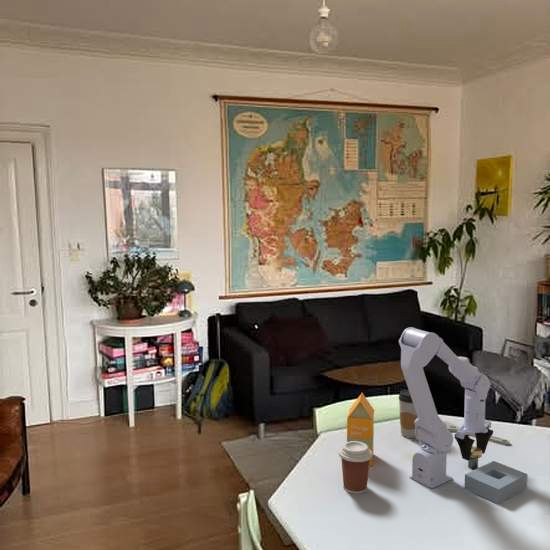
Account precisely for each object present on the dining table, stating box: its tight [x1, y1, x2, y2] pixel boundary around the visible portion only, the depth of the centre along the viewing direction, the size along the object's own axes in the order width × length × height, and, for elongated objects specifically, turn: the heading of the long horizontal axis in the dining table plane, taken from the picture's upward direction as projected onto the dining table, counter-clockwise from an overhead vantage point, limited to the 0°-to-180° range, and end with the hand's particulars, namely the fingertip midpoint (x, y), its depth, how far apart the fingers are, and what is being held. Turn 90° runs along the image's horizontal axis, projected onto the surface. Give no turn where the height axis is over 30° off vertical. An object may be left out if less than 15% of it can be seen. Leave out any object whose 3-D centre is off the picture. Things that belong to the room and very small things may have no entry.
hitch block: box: [463, 460, 528, 505], centre depth 143 cm, size 14×10×4 cm
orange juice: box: [346, 392, 375, 467], centre depth 160 cm, size 8×9×20 cm
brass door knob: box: [467, 446, 483, 471], centre depth 155 cm, size 5×5×6 cm
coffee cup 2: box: [398, 389, 418, 439], centre depth 179 cm, size 8×8×15 cm
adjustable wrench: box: [442, 420, 511, 446], centre depth 179 cm, size 25×6×2 cm, turn 43°
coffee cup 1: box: [338, 441, 372, 495], centre depth 143 cm, size 9×9×12 cm
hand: (473, 455), depth 155 cm, fingers open, 7 cm apart
